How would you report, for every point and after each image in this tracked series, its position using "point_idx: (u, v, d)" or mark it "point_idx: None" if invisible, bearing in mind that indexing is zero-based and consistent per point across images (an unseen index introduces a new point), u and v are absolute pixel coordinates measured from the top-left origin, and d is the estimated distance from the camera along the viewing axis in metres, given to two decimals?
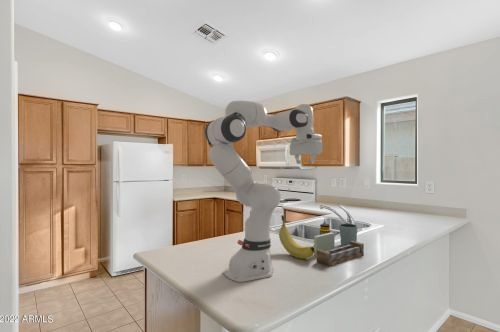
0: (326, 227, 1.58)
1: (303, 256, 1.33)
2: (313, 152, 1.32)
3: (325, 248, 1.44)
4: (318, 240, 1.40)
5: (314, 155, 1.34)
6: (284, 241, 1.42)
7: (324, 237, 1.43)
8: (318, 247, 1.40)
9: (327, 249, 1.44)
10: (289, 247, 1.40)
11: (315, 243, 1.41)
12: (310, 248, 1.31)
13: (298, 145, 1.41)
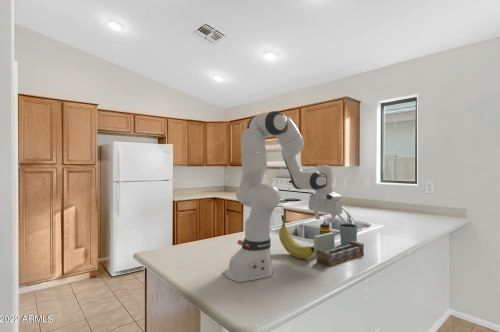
0: (326, 227, 1.58)
1: (303, 256, 1.33)
2: (333, 212, 1.38)
3: (325, 248, 1.44)
4: (318, 240, 1.40)
5: (334, 215, 1.39)
6: (284, 241, 1.42)
7: (324, 237, 1.43)
8: (318, 247, 1.40)
9: (327, 249, 1.44)
10: (289, 247, 1.40)
11: (315, 243, 1.41)
12: (310, 248, 1.31)
13: (317, 202, 1.46)
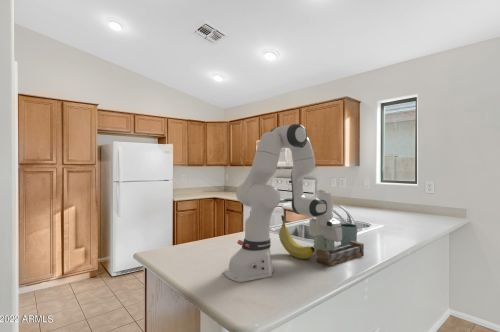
0: None
1: (303, 256, 1.33)
2: (333, 239, 1.38)
3: (325, 248, 1.44)
4: (318, 240, 1.40)
5: (329, 240, 1.42)
6: (284, 241, 1.42)
7: None
8: (318, 247, 1.40)
9: (327, 249, 1.44)
10: (289, 247, 1.40)
11: (315, 243, 1.41)
12: (310, 248, 1.31)
13: (317, 227, 1.46)
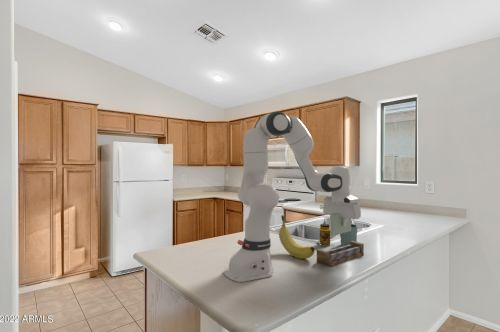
0: (326, 227, 1.58)
1: (303, 256, 1.33)
2: (351, 217, 1.29)
3: (342, 227, 1.35)
4: (334, 218, 1.32)
5: (346, 218, 1.33)
6: (284, 241, 1.42)
7: None
8: (335, 225, 1.32)
9: (344, 228, 1.36)
10: (289, 247, 1.40)
11: (331, 221, 1.32)
12: (310, 248, 1.31)
13: (333, 206, 1.38)
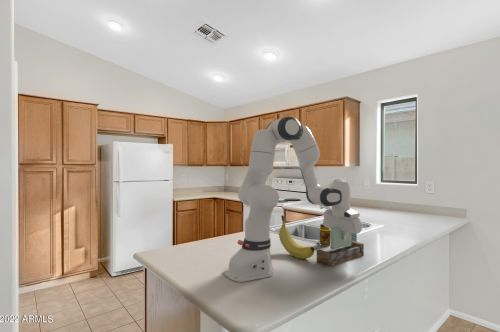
0: (326, 227, 1.58)
1: (303, 256, 1.33)
2: (351, 231, 1.29)
3: (342, 241, 1.35)
4: (335, 232, 1.32)
5: (346, 232, 1.33)
6: (284, 241, 1.42)
7: None
8: (335, 239, 1.32)
9: (344, 242, 1.36)
10: (289, 247, 1.40)
11: (332, 235, 1.32)
12: (310, 248, 1.31)
13: (333, 219, 1.38)
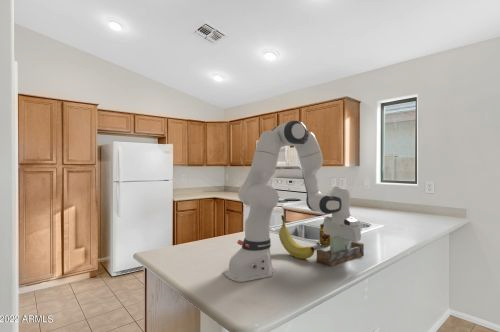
0: None
1: (303, 256, 1.33)
2: (351, 239, 1.29)
3: (342, 250, 1.35)
4: (335, 242, 1.32)
5: (350, 241, 1.31)
6: (284, 241, 1.42)
7: (341, 238, 1.34)
8: (335, 249, 1.32)
9: None
10: (289, 247, 1.40)
11: (331, 245, 1.32)
12: (310, 248, 1.31)
13: (333, 226, 1.38)
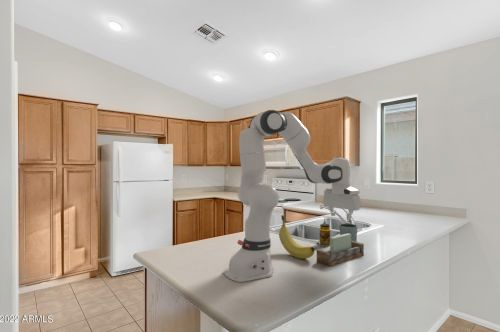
0: (326, 227, 1.58)
1: (303, 256, 1.33)
2: (351, 208, 1.29)
3: (342, 250, 1.35)
4: (335, 242, 1.32)
5: (351, 211, 1.30)
6: (284, 241, 1.42)
7: (341, 238, 1.34)
8: (335, 249, 1.32)
9: None
10: (289, 247, 1.40)
11: (331, 245, 1.32)
12: (310, 248, 1.31)
13: (333, 197, 1.38)
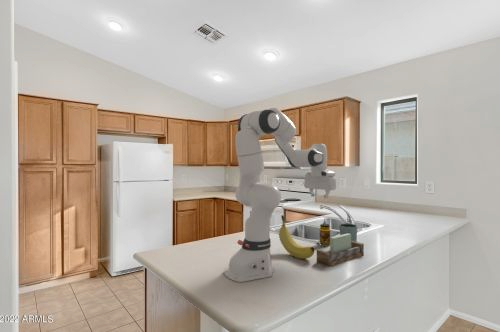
0: (326, 227, 1.58)
1: (303, 256, 1.33)
2: (327, 188, 1.44)
3: (342, 250, 1.35)
4: (335, 242, 1.32)
5: (328, 191, 1.46)
6: (284, 241, 1.42)
7: (341, 238, 1.34)
8: (335, 249, 1.32)
9: None
10: (289, 247, 1.40)
11: (331, 245, 1.32)
12: (310, 248, 1.31)
13: (313, 180, 1.53)
